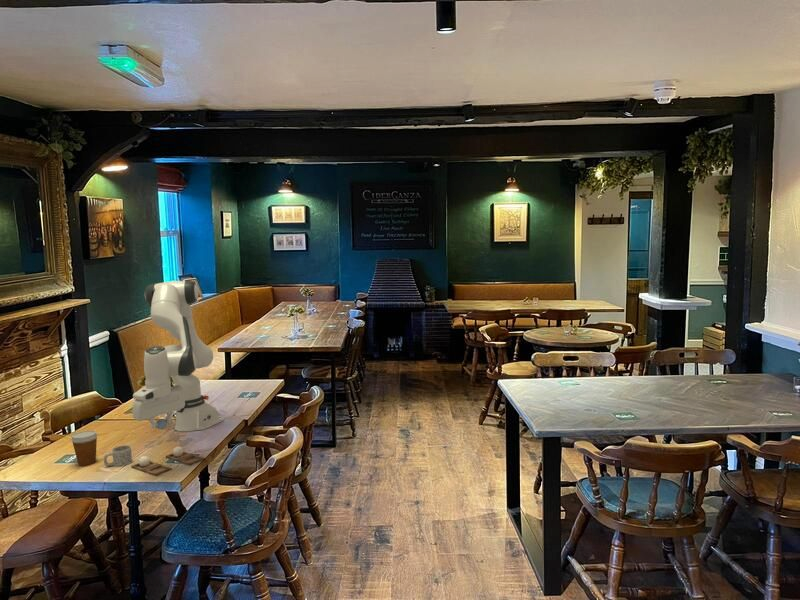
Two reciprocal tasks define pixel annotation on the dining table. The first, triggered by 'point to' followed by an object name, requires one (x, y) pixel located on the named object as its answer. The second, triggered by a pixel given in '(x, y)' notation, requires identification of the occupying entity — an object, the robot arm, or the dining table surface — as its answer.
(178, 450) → the ivory ball
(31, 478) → the dining table surface
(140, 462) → the ivory ball
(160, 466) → the tray
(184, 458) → the rack
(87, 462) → the disposable coffee cup
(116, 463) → the mug
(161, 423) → the ball blue
